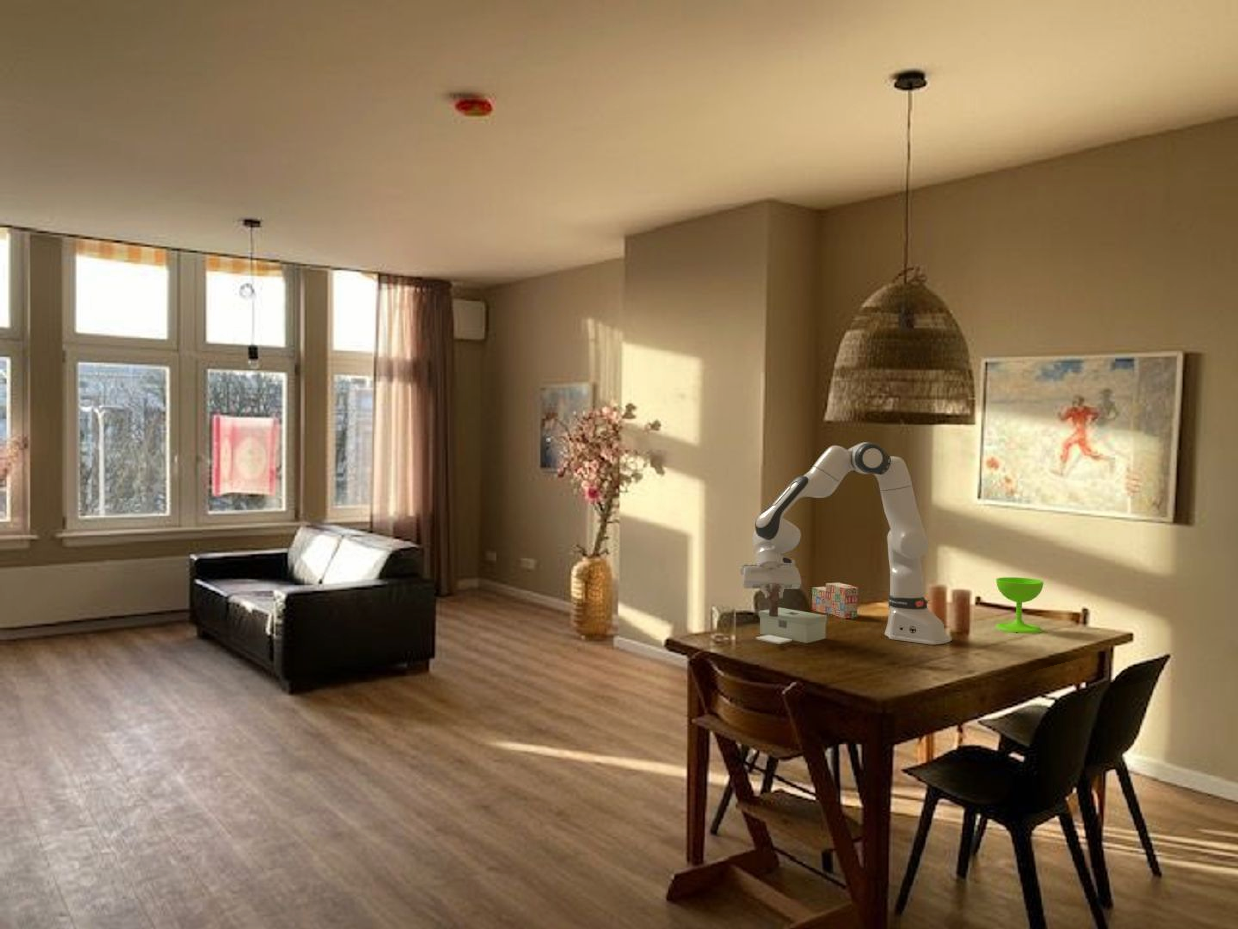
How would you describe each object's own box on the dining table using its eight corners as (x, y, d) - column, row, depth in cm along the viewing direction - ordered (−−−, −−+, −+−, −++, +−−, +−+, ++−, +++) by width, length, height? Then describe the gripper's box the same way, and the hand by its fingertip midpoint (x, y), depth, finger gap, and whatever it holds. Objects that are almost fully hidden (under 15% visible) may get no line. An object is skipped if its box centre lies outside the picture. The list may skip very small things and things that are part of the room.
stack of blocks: (811, 610, 372) (811, 580, 372) (824, 609, 375) (824, 579, 374) (844, 619, 352) (845, 587, 352) (857, 618, 355) (858, 586, 355)
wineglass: (1050, 634, 328) (1051, 584, 327) (1005, 633, 328) (1006, 583, 327) (1031, 625, 344) (1032, 577, 343) (988, 624, 344) (989, 577, 343)
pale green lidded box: (826, 638, 317) (826, 615, 317) (806, 643, 309) (806, 619, 309) (778, 629, 332) (779, 607, 332) (758, 633, 324) (758, 611, 324)
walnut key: (779, 616, 313) (780, 584, 313) (774, 617, 311) (774, 585, 311) (772, 614, 315) (773, 583, 315) (767, 615, 313) (767, 583, 313)
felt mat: (791, 641, 312) (791, 639, 312) (779, 644, 307) (779, 642, 307) (768, 636, 319) (768, 634, 319) (755, 639, 315) (755, 637, 315)
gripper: (740, 559, 319) (745, 591, 310) (798, 559, 320) (805, 592, 311) (738, 570, 324) (742, 602, 314) (795, 570, 325) (801, 602, 315)
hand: (774, 597), depth 312 cm, fingers closed on walnut key, 3 cm apart
